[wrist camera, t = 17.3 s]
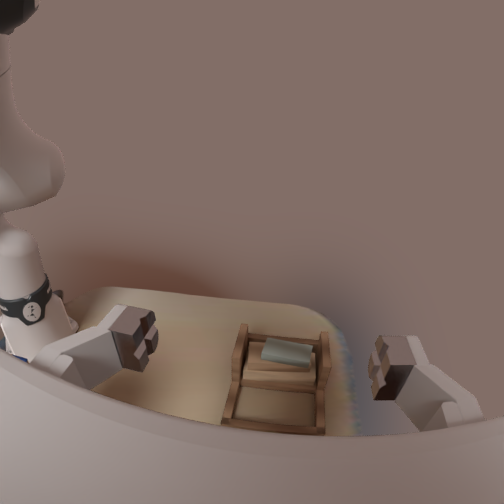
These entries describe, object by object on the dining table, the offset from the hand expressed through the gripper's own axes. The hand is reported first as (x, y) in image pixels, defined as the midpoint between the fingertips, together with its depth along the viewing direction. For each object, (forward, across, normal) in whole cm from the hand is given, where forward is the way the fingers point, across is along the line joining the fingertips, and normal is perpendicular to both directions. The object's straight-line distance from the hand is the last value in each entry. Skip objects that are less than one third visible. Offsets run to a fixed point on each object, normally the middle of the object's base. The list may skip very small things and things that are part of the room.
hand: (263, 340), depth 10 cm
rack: (+24, -2, +32) cm, 40 cm away
